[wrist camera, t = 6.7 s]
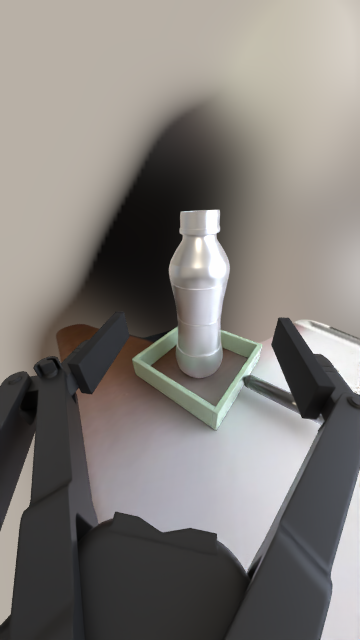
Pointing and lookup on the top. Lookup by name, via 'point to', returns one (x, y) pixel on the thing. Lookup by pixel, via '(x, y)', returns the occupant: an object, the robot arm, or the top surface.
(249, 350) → the pan
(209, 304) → the plastic bottle
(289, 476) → the top surface
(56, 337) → the top surface
